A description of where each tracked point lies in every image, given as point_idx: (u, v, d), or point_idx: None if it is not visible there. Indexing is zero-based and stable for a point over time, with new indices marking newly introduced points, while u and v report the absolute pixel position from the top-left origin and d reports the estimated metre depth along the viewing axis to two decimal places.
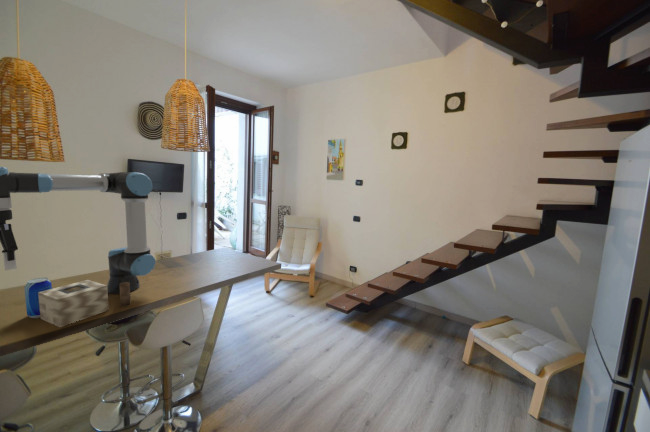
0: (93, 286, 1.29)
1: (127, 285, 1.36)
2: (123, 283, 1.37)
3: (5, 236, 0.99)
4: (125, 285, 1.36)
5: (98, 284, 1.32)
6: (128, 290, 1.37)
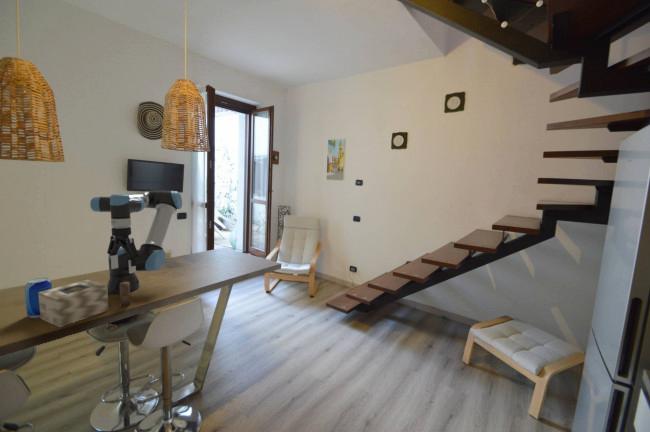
0: (93, 286, 1.29)
1: (127, 285, 1.36)
2: (123, 283, 1.37)
3: (131, 247, 1.31)
4: (125, 285, 1.36)
5: (98, 284, 1.32)
6: (128, 290, 1.37)
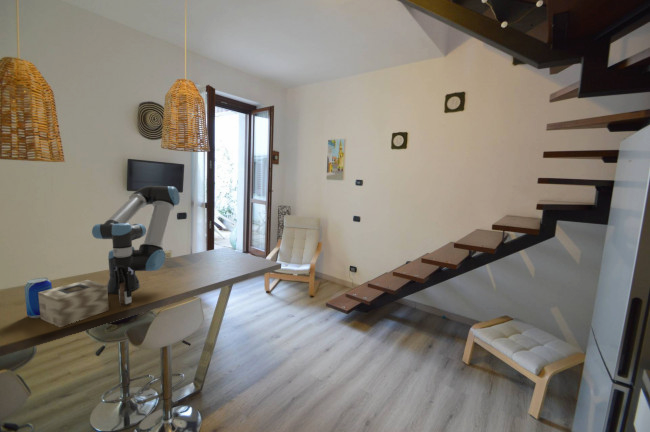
0: (93, 286, 1.29)
1: None
2: (123, 283, 1.37)
3: (129, 280, 1.33)
4: None
5: (98, 284, 1.32)
6: None
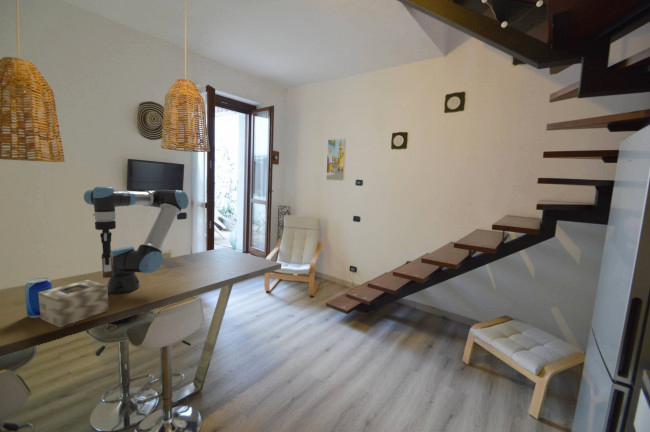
0: (93, 286, 1.29)
1: None
2: None
3: (103, 246, 1.26)
4: None
5: (98, 284, 1.32)
6: None
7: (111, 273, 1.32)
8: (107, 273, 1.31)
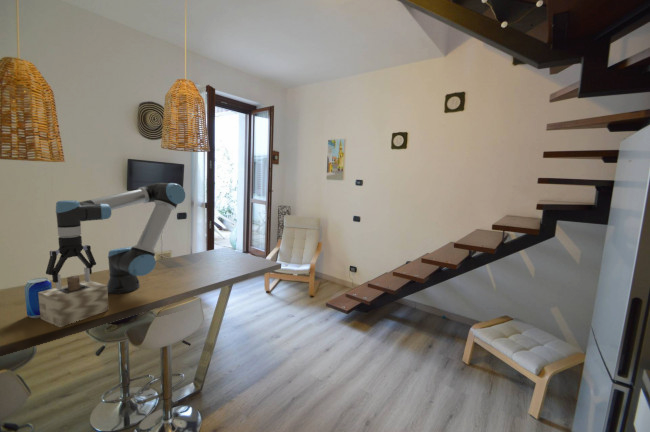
0: (93, 286, 1.29)
1: (68, 280, 1.23)
2: (73, 277, 1.25)
3: (49, 261, 1.18)
4: (67, 279, 1.24)
5: (98, 284, 1.32)
6: (69, 286, 1.24)
7: None
8: None
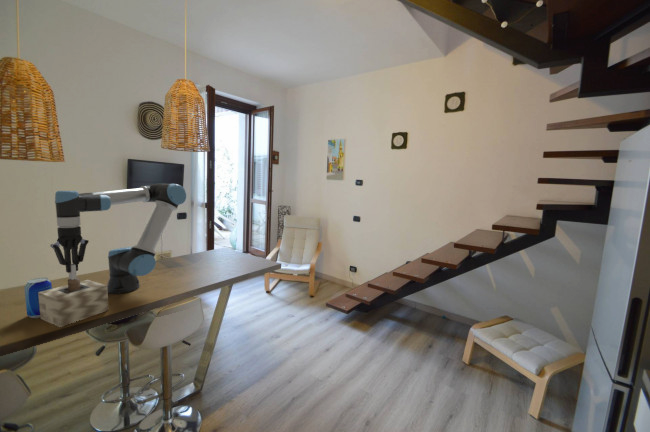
0: (93, 286, 1.29)
1: (68, 282, 1.24)
2: None
3: (56, 254, 1.20)
4: None
5: (98, 284, 1.32)
6: (69, 288, 1.24)
7: None
8: None
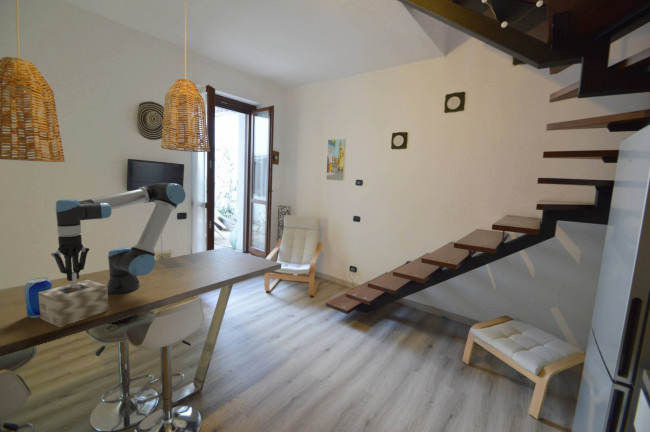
0: (93, 286, 1.29)
1: (69, 290, 1.24)
2: None
3: (57, 262, 1.20)
4: None
5: (98, 284, 1.32)
6: None
7: None
8: None
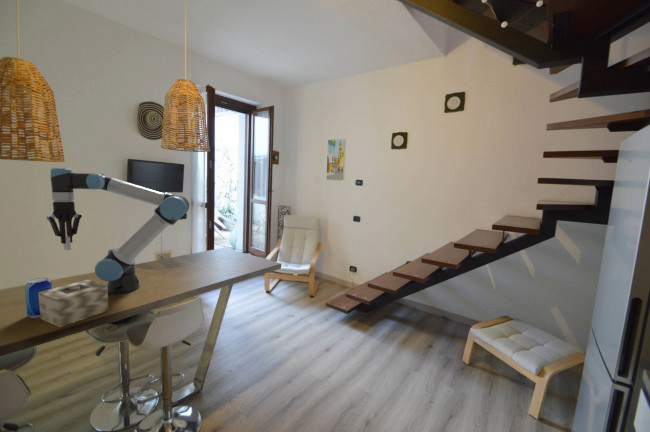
0: (93, 286, 1.29)
1: None
2: (73, 287, 1.26)
3: (51, 225, 1.31)
4: (68, 290, 1.24)
5: (98, 284, 1.32)
6: None
7: None
8: None
